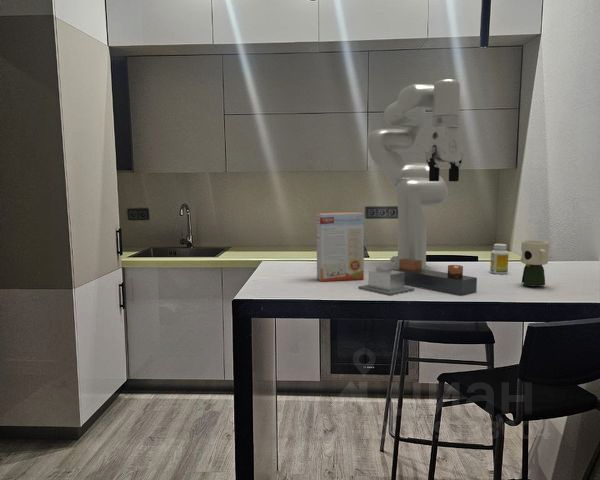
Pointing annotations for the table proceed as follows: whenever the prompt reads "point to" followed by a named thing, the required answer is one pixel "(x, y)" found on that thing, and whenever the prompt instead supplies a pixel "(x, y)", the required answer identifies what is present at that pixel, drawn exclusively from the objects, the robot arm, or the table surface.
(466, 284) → the body
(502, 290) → the table surface
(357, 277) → the cracker box
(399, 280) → the lever cap
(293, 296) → the table surface
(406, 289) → the rubber mat
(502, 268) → the supplement bottle
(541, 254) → the character mug
